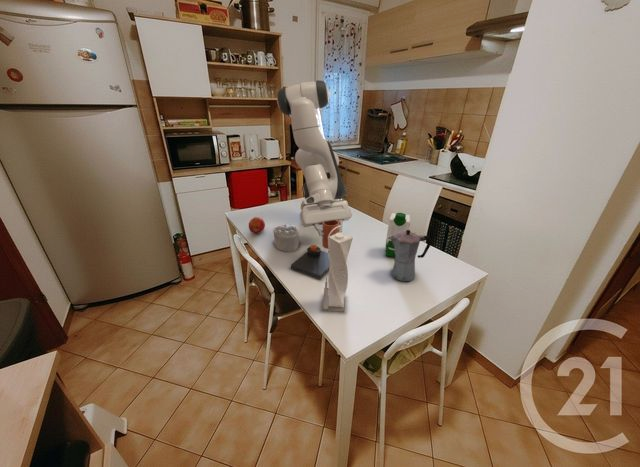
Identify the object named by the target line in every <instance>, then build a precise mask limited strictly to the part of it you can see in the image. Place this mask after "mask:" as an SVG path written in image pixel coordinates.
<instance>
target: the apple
mask: <svg viewBox="0 0 640 467" xmlns="http://www.w3.org/2000/svg"><path fill="white" fill-rule="evenodd" d="M265 228H266V223H265V220H264V219H263V218H261V217H259V216H254V217H253V218H251V219H250V220H249V222H248V229H249V231H250V232H251V233H252V234H260V233H262V232H263V231H264V229H265Z"/></svg>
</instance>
